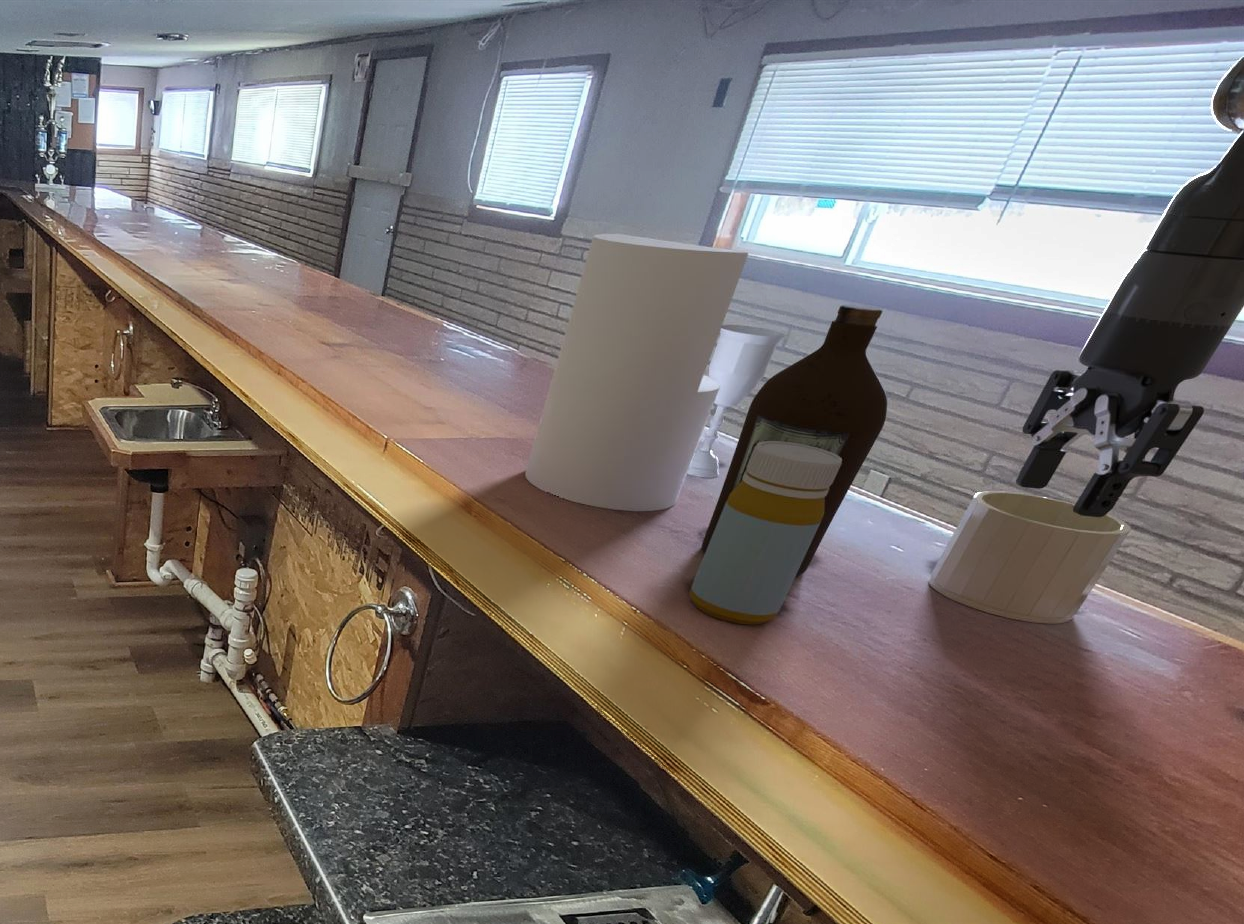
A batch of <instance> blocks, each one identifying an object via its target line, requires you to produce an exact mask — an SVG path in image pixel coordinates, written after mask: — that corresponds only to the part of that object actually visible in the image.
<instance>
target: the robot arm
mask: <svg viewBox="0 0 1244 924" xmlns="http://www.w3.org/2000/svg"><path fill="white" fill-rule="evenodd" d="M1210 106H1211V107H1210V109H1211V114H1212V117H1213V119H1214V121H1215V122H1216V124H1218V125H1219V126H1220V127H1221V128H1222V129H1224V130H1227V131H1228V132H1231V133H1234V134H1237V135H1238V136H1237V138H1236V139H1235V140H1234V141H1233V142H1232V144H1231V145H1230V147H1229V148H1228V150H1227V151H1226V152H1225V154H1224V155H1223V156H1222V158H1221V159H1220V160H1219V162H1218V163H1217V164H1216V165H1215V166H1214V167H1213V168H1211V169H1210V170H1208V171H1206V172H1204V173H1200V174H1198V175H1196V176H1194V177H1192V178H1191V179H1189V180H1188V181H1187V182H1186V183H1185V184H1183V185H1182V186H1181V187H1180V189H1179V190H1178V191H1177V192H1176V194H1175V195H1174V196H1173V198H1172V199H1171V201H1170V202H1169V204H1168V205H1167V207H1166V209H1165V210H1164V213H1163V214H1162V216H1161V218H1160V220H1159V221H1158V223H1157V224H1156V227H1155V228H1154V230H1153V232H1152V234H1151V235H1150V237H1149V239H1148V241H1147V242H1146V244H1145V246H1144V249H1143V250H1142V251H1141V253H1140V254H1139V256H1138V258H1137V259H1136V260H1135V262H1133V264H1132V265H1131V267H1130V268H1129V269H1128V270H1127V272H1126V273H1125V275H1124V276H1123V278H1122V279H1121V281H1120V283H1119V284H1118V287H1117V288H1116V290H1115V292H1114V293H1113V294H1112V297H1111V298H1110V301H1109V302H1108V304H1107V305H1106V307H1105V309H1104V311H1103V313H1102V315H1101V316H1100V318H1099V319H1098V321H1097V322H1096V325H1095V327H1094V329H1093V330H1092V332H1091V334H1090V336H1089V338H1088V339H1087V341H1086V343H1085V344H1084V346H1083V348H1082V350H1081V352H1080V354H1079V355H1078V362H1079V364H1081V365H1083V366H1085V367H1087V368H1086V369H1085V371H1079V370H1069V369H1068V370H1067V369H1066V370H1062V369H1055V370H1053V371H1052V373H1051V374H1050V376H1049V378H1048V379H1047V381H1046V382H1045V384H1044V387H1043V388H1042V390H1041V393H1040V394H1039V395H1038V398H1037V400H1036V402H1035V404H1034V406H1033V408H1032V409H1031V410H1030V412H1029V414H1028V417H1027V418H1026V420H1025V423H1024V424H1023V426H1022V430H1021V431H1022V434H1025V435H1030V436H1031V439H1030V440H1031V445H1032V446H1033V447H1032V450H1031V451H1030V453H1029V455H1028V456H1027V458H1026V460H1025V462H1024V463H1023V466H1022V467H1021V469H1020V470H1019V473H1018V476H1017V478H1016V480H1015V484H1016V485H1017V486H1020V487H1021V488H1025V489H1026V488H1028V489H1037V490H1039V489H1040V490H1041V489H1045V488H1046V487H1047V486H1048V484H1049V483H1050V481H1051V480H1052V478H1053V476H1054V475H1055V473H1056V471H1057V470H1058V467H1059V466H1060V464H1061V462H1062V461H1063V459H1064V457H1065V456H1066V454H1067V451H1066V450H1064V449H1066V448H1068V447H1070V446H1071V445H1072V444H1074V443H1075V442H1076V441H1077V440H1078V439H1080V438H1081V437H1083V436H1084V435H1087V434H1091V435H1093V436H1094V441H1093V444H1094V447H1095V448H1096V449H1097V450H1099V458H1098V469H1097V472H1094V473H1093V475H1091V478H1090V479H1089V481H1088V482H1087V484H1086V486H1085V488H1084V489H1083V491H1082V492H1081V494H1080V496H1079V497H1078V499H1077V501H1076V502H1075V503H1074V504H1075V506H1074V507H1073V511H1074V512H1075V513H1077V514H1079V515H1081V516H1091V517H1103V516H1105V515H1106V514H1108V513H1110V512H1111V510H1113V509H1114V507H1115V506H1116V504H1117V502H1118V501H1119V499H1120V498H1121V496H1122V495H1123V493H1124V492H1125V490H1126V488H1127V487H1128V485H1129V484H1130V482H1132V480H1133V479H1134V478H1138V477H1153V478H1154V477H1155V478H1158V477H1160V476H1162V475H1163V474H1164V473H1165V471H1166V470H1167V468H1168V467H1169V466H1170V464H1171V462H1172V461H1173V459H1174V458H1175V456H1177V454H1178V452H1179V451H1180V450H1181V448H1182V447H1183V444H1184V443H1185V442H1186V440H1187V439H1188V437H1189V436H1190V435H1191V433H1192V432H1193V430H1194V428H1195V427H1196V425H1197V424H1198V423H1199V421H1200V419H1201V418H1202V417H1203V415H1204V412H1205V408H1204V407H1203V406H1202V405H1194V404H1183V403H1179V402H1176V401H1174V397H1175V393H1176V391H1177V388H1178V386H1179V385H1180V384H1181V383H1183V382H1184V381H1186V380H1192V379H1196V378H1197V377H1199V376H1200V375H1201V374H1202V373H1203V372H1204V370H1205V369H1206V366H1207V365H1208V364H1209V362H1210V361H1211V359H1212V358H1213V356H1214V355H1215V353H1216V351H1217V349H1218V348H1219V346H1220V345H1221V343H1222V341H1223V340H1224V338H1225V337H1226V335H1227V334H1228V333H1229V330H1230V329H1231V327H1232V326H1233V325H1234V323H1235V321H1236V319H1237V318H1238V316H1239V315H1240V314H1241V312H1242V311H1243V308H1244V55H1243V56H1242V57H1240V59H1239V60H1237V61H1236V62H1235V63H1234V64H1233V65H1232V67H1230V69H1229V70H1228V71H1227V72H1226V73H1225V74H1224V76H1223V77H1222V78H1221V80H1220V81H1219V82H1218V84H1217V86H1216V88H1215V90H1214V92H1213V95H1212V98H1211V105H1210ZM1049 411H1054V412H1053V413H1052V414H1050V416H1049V417H1048V418H1047V421H1043V420H1044V419H1045V417H1046V415H1047V413H1048V412H1049ZM1133 434H1134V435H1133ZM1131 435H1133V438H1132V437H1129V436H1131ZM1152 449H1157V451H1156V452H1155V453H1154V454H1153V457H1151V459H1150V460H1146V456H1147V455H1148V454H1149V452H1150V450H1152ZM1120 451H1121V452H1124V453H1125V455H1124V457H1123V458H1122V460H1119V455H1120Z"/></svg>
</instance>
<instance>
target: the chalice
mask: <svg viewBox="0 0 1244 924" xmlns="http://www.w3.org/2000/svg"><path fill="white" fill-rule="evenodd" d="M719 334H720V335H719V337H718V338H719V339H718V341H717V344H716V347H715V349H714V352H713V353H712V356H711V357H712V358H711V360H710V362H709V364H708V365H709V367H708V377H710V378H712V379H714V380H716V381H717V382H718V383H719V384H720V388H719V390H718V393H717V396H716V398H715V401H714V404H715V405H716V411H715V413H714V415H713V416H712V417H711V418H710V419H709V422H710V425H709V428H708V430H707V431H706V432H704V433H703V436H704V443H703V444H702V446H701V447H700V448H698V450H696V451H695V454H694V456H693V459H692V461H691V464H690V467H689V469H688V472H687V475H689V476H694V477H698V478H707V479H709V478H710V479H713V478H718V477H720V473H719V468H720V467H719V459H718V457H717V455H715V454H713V451H712V446H713V443H714V442H715V441H716V439H718V438H720V436H719V431H718V430H719V428H720V427H721V426H722V425H723V424H724V423H725V421H724V418H725V417H724V416H725V412H726V411H727V409H728V408H730V407H734V406H737V405H738V404H739V403H740V402H741V401H742V400H743V399H744V398H746V396H747V395H749V393H751V392H752V391H753V390H754V388H755V387H756V386H757V385H758V384H759V383H760V381H761V380H762V379H763V378H764V377H765V375H766V372H767V370H768V367H769V365H770V362H771V360H772V358H773V355H774V353H775V350H776V348H777V345H778V344H779V343H780V342H781V341H782V340H783V339H784V338H785V337H786V333H784V332H781V331H778V330H773V329H769V328H764V327H757V326H749V325H742V324H741V325H740V324H722V327H721V329H720V332H719Z"/></svg>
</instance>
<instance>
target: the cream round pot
mask: <svg viewBox="0 0 1244 924" xmlns="http://www.w3.org/2000/svg"><path fill="white" fill-rule="evenodd" d="M1075 504H1076V503H1074V502H1070V501H1066V500H1062V499H1057V498H1052V497H1048V496H1041V495H1035V494H1031V493H1030V494H1029V493H1025V492H1013V491H1002V490H985V491H980V492H977V493H975V495H974V496H973V497H972V499H971V501H970V503H969V505H968V506H967V508H966V510H965V512H964V513H963V516H962V517H961V519H960V521H959V522H958V524H957V526H956V528H955V530H954V532H953V534H952V536H951V537H950V539H949V541H948V543H947V545H946V546H945V547H944V550H943V552H942V554H941V555H940V557H939V559H938V561H937V562H936V565H935V566H934V568H933V570H932V572H931V573H930V576H929V578H928V584H929V586H930V587H931V588H932V589H934V590H935V591H936V592H937V593H939V594H941V595H942V596H944V597H946V598H948V599H950V600H952V601H954V602H956V603H959V604H962V605H963V606H967V607H969V608H972V609H975V610H978V611H981V612H984V613H988V614H991V615H995V616H999V617H1002V618H1007V619H1011V620H1016V621H1021V622H1029V623H1037V624H1047V625H1049V624H1050V625H1053V624H1056V625H1057V624H1064V623H1068V622H1070V621H1071V620H1072V619H1073V618H1074V617H1075V615H1077V613H1078V611H1079V610H1080V608H1081V607H1082V605H1083V604H1084V603H1085V601H1086V599H1087V598H1088V596H1089V594H1090V593H1091V592H1092V591H1093V588H1094V587H1095V586H1096V585H1097V583H1098V581H1099V580H1100V578H1101V577H1102V575H1103V573H1104V572H1105V571H1106V569H1107V568H1108V566H1109V565H1110V563H1111V562H1112V560H1113V558H1114V556H1116V554H1117V552H1118V551H1119V549H1120V548H1121V546H1122V544H1123V543H1124V541H1125V540H1126V538H1127V537H1128V536H1129V533H1130V532H1131V528H1132V527H1131V526H1130V525H1129V524H1127V523H1126V521H1124V520H1122V519H1120V518H1118V517H1116V516H1114V515H1112V514H1108V513H1107V514H1106V515H1105V516H1103V517H1091V516H1081V515H1079V514H1077V513H1075V512H1074V511H1073V507H1074V506H1075Z"/></svg>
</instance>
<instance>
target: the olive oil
mask: <svg viewBox="0 0 1244 924" xmlns="http://www.w3.org/2000/svg"><path fill="white" fill-rule="evenodd" d="M882 314H883V309H882V308H878V307H873V306H868V305H858V304H842V305H840V306H839V308H838V310H837V316H836V318H835V319H834V320H832V321H831V323H830V326H829V328H828V330H827V333H826V336H825V339H824V341H823V343H822V345H821V346H820V347H819V348H817V349H816V350H815V351H813V352H811V353H810V354H807V355H806V356H805V357H803V358H801V359H799V360H797V361H795V362H794V363H792V364H791V365H789V366H787V367H785V368H784V369H782V370H780V371H778V372H777V373H776V374H774V375H772V376H771V377H770V378H769V379H768V380H766V382H765V383H764V384H763V385H762V386H761V388H760V389H759V391H758V392H757V393H756V394H755V396H754V397H753V398H752V400H751V402H750V404H749V408H748V410H747V413H746V416H745V418H744V419H745V420H744V423H743V425H742V429H741V431H740V434H739V438H738V441H737V444H736V446H735V450H734V453H733V456H732V459H731V461H730V465H729V467H728V470H727V473H726V476H725V478H724V482H723V484H722V487H721V491H720V493H719V496H718V499H717V501H716V505H715V506H714V507H715V508H714V510H713V513H712V516H711V518H710V521H709V524H708V526H707V530H706V531H705V535H704V537H703V540H702V543H701V549H702V551H703V553H704V554H705V553H706V550H707V548H708V545H709V543H710V540H711V538H712V535H713V533H714V531H715V528H716V526H717V523H718V521H719V518H720V516H721V513H722V511H723V508H724V506H725V504H726V501H727V500H728V497H729V495H730V493H731V492H732V491H733V490H734V489H735V488H736V487H737V486H738V485H739V483H740V482H741V481H742V480H743V475H744V473H745V471H746V470H747V465H748V462H749V460H750V457H751V455H752V453H753V450H754V448H755V446H756V445H757V444H758V443H760V442H765V441H779V442H789V443H796V444H802V445H807V446H812V447H816V448H819V449H823V450H826V451H829V452H832V453H834V454H836V455H838V456H839V457H841V458H842V461H841V462H842V464H841V466H840V468H839V470H838V472H837V474H836V477H835V479H834V481H833V483H832V484H831V485H830V487H829V491H828V493H827V495H826V496H825V504H824V515H823V517H822V520H821V523H820V525H819V527H818V529H817V531H816V533H815V535H814V538H813V540H812V542H811V544H810V546H809V548H808V550H807V552H806V555H805V557H804V559H803V561H802V563H801V565H800V567H799V569H798V572H797V574H796V576H795V577H798V576H800V575H801V576H802V574H805V572H806V571H807V569H808V568H809V566H810V564H811V562H812V560H813V558H814V556H815V555H816V553H817V550H818V548H819V546H820V544H821V543H822V541H823V539H824V537H825V535H826V533H827V531H828V529H829V528H830V525H831V523H832V521H833V520H834V518H835V516H836V514H837V512H838V510H839V508H840V506H841V505H842V503H843V501H844V499H845V498H846V496H847V493H848V492H849V490H850V488H851V486H852V485H853V483H854V481H855V479H856V477H857V475H858V473H859V471H860V469H861V468H862V466H863V464H864V462H865V461H866V460H867V459H866V458H867V457H868V455H869V454H870V451H871V449H872V448H873V446H874V444H875V442H876V441H877V439H878V437H879V435H880V434H881V432H882V429H883V427H884V426H885V422H886V418H887V412H888V395H887V393H886V390H885V388H884V386H883V384H882V382H881V380H880V379H879V376H878V375H877V373H876V371H875V368H874V367H873V366H872V364H871V362H870V360H869V358H868V356H867V349H868V347H869V345H870V343H871V341H872V340H873V337H874V335H875V332H876V331H877V329H878V325H876V324H877V323H878V320H879V319H880V318H881V316H882Z"/></svg>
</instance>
